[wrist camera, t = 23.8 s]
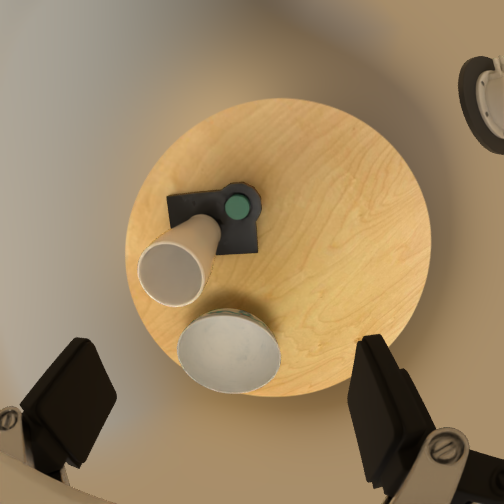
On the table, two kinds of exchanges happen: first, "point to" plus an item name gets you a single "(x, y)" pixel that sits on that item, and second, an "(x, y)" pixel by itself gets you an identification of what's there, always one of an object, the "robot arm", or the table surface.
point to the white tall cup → (180, 261)
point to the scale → (221, 215)
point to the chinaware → (229, 351)
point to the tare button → (237, 207)
